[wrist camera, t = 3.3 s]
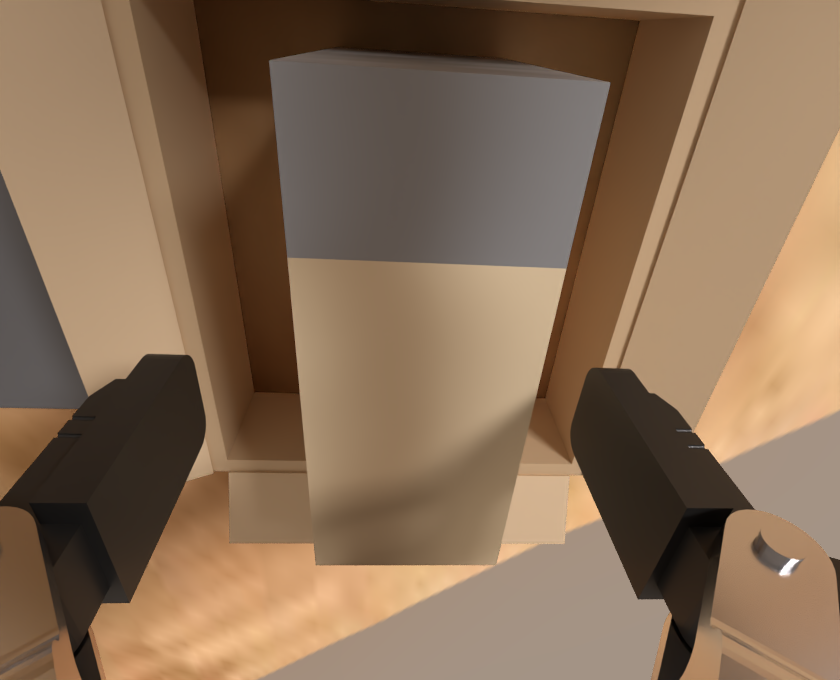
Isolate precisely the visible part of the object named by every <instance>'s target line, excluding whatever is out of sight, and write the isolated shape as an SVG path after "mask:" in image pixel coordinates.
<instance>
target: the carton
mask: <svg viewBox="0 0 840 680" xmlns="http://www.w3.org/2000/svg"><path fill="white" fill-rule="evenodd" d="M368 1H382V2H395V3H409V4H422V5H436V6H449V7H463V8H476V9H490V10H503V11H517V12H531V13H544V14H558V15H571V16H585V17H598V18H612V19H625V20H639V21H640V22H639V26H638V30H637V34H636V38H635V42H634V46H633V50H632V54H631V58H630V62H629V66H628V70H627V74H626V78H625V82H624V86H623V90H622V94H621V98H620V102H619V106H618V110H617V114H616V118H615V122H614V126H613V130H612V134H611V138H610V142H609V146H608V150H607V154H606V158H605V162H604V166H603V170H602V174H601V178H600V182H599V186H598V190H597V194H596V198H595V202H594V206H593V210H592V214H591V218H590V222H589V226H588V230H587V234H586V238H585V242H584V246H583V250H582V254H581V258H580V262H579V265H578V269H577V273H576V277H575V281H574V285H573V289H572V293H571V297H570V301H569V305H568V309H567V313H566V317H565V321H564V325H563V329H562V333H561V337H560V341H559V345H558V349H557V353H556V357H555V361H554V365H553V369H552V373H551V377H550V381H549V385H548V389H547V393H546V397H545V398H536V399H535V403H534V408H533V412H532V416H531V420H530V424H529V429H528V433H527V437H526V441H525V445H524V450H523V454H522V458H521V462H520V467H519V471H518V475H517V479H516V483H515V488H514V492H513V496H512V500H511V504H510V509H509V513H508V517H507V521H506V525H505V530H504V534H503V538H502V542H501V544H564V542H565V529H566V516H567V503H568V490H569V478H570V476H569V475H583V474H582V472H581V470H580V467H579V465H578V463H577V461H576V458H575V456H574V454H573V451H572V447H571V441H570V430H571V424H572V420H573V417H574V414H575V410H576V407H577V404H578V401H579V397H580V394H581V391H582V388H583V384H584V381H585V378H586V375H587V373H588V371H589V370H590V369H591V368H625V369H631V370H632V371H633V372H634V373H635V374H636V376H637V377H638V379H639V380H640V381H641V383H642V384H643V385H644V387H645V388H646V389H647V391H648V392H649V393H655V394H657V395H658V396H659V397H661V398H662V399H663V400H665V401H666V402H667V403H669V404H670V405H671V406H673V407H674V408H675V409H677V410H678V411H679V413H680V414H681V415H682V417H683V418H684V419H685V420H686V422H687V423H688V424H689V426H690V427H691V428H692V433H693V432H694V430H695V428H696V426H697V424H698V422H699V419H700V417H701V415H702V413H703V411H704V409H705V407H706V405H707V403H708V401H709V399H710V397H711V395H712V392H713V390H714V388H715V386H716V384H717V382H718V380H719V378H720V376H721V374H722V372H723V370H724V368H725V365H726V363H727V361H728V359H729V357H730V355H731V353H732V351H733V349H734V347H735V345H736V343H737V341H738V338H739V336H740V334H741V332H742V330H743V328H744V326H745V324H746V322H747V320H748V318H749V316H750V314H751V311H752V309H753V307H754V305H755V303H756V301H757V299H758V297H759V295H760V293H761V291H762V289H763V287H764V284H765V282H766V280H767V278H768V276H769V274H770V272H771V270H772V268H773V266H774V264H775V262H776V260H777V257H778V255H779V253H780V251H781V249H782V247H783V245H784V243H785V241H786V239H787V237H788V235H789V232H790V230H791V228H792V226H793V224H794V222H795V220H796V218H797V216H798V214H799V212H800V210H801V208H802V205H803V203H804V201H805V199H806V197H807V195H808V193H809V191H810V189H811V187H812V185H813V183H814V181H815V178H816V176H817V174H818V172H819V170H820V168H821V166H822V164H823V162H824V160H825V158H826V156H827V154H828V151H829V149H830V147H831V145H832V143H833V141H834V139H835V137H836V135H837V133H838V131H839V129H840V0H368ZM0 170H1V173H2V176H3V178H4V181H5V183H6V186H7V188H8V191H9V194H10V196H11V199H12V201H13V204H14V206H15V209H16V212H17V214H18V217H19V219H20V222H21V225H22V227H23V230H24V232H25V235H26V237H27V240H28V243H29V245H30V248H31V250H32V253H33V255H34V258H35V261H36V263H37V266H38V268H39V271H40V273H41V276H42V279H43V281H44V284H45V286H46V289H47V291H48V294H49V297H50V299H51V302H52V304H53V307H54V309H55V312H56V315H57V317H58V320H59V322H60V325H61V327H62V330H63V333H64V335H65V338H66V340H67V343H68V345H69V348H70V351H71V353H72V356H73V358H74V361H75V363H76V366H77V369H78V371H79V374H80V376H81V379H82V381H83V384H84V387H85V389H86V392H87V394H88V397H89V396H90V395H91V394H93V393H95V392H96V391H98V390H99V389H101V388H102V387H104V386H105V385H107V384H108V383H110V382H112V381H113V380H115V379H126V378H127V376H128V375H129V374H130V373H131V371H132V370H133V369H134V368H135V366H136V365H137V364H138V362H139V361H140V360H141V359H142V357H143V356H145V355H146V354H176V355H189V356H191V357H192V359H193V361H194V364H195V368H196V373H197V377H198V382H199V387H200V392H201V396H202V401H203V406H204V411H205V416H206V432H205V438H204V442H203V445H202V448H201V450H200V452H199V454H198V456H197V459H196V461H195V463H194V465H193V467H192V469H191V471H190V474H189V476H188V478H187V480H186V481H190V480H193V479H196V478H200V477H203V476H207V475H210V474H213V471H230V472H229V543H314V540H313V530H312V519H311V508H310V497H309V487H308V476H307V465H306V454H305V443H304V433H303V422H302V411H301V400H300V393H267V392H254V387H253V380H252V374H251V368H250V361H249V355H248V348H247V342H246V335H245V329H244V323H243V316H242V310H241V303H240V297H239V291H238V284H237V278H236V271H235V265H234V258H233V252H232V246H231V239H230V233H229V226H228V220H227V214H226V207H225V201H224V194H223V188H222V181H221V175H220V169H219V162H218V156H217V149H216V143H215V136H214V130H213V124H212V117H211V111H210V104H209V98H208V92H207V85H206V79H205V72H204V66H203V59H202V53H201V47H200V40H199V34H198V27H197V21H196V15H195V8H194V2H193V0H0ZM583 477H584V476H583Z"/></svg>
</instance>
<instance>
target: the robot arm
mask: <svg viewBox="0 0 840 680" xmlns="http://www.w3.org/2000/svg"><path fill="white" fill-rule="evenodd" d="M72 417H73V418H72V420H69V421H68V422H67V423H66V424H65V425H64V427H63V428H62V429H61V430H60V431H59V432H58V437H57V438H53V440H52V441H51V442H50V443H49V444H48V445H47V447H46V448H45V449H44V450H43V451H42V453H41V454H40V455H39V456H38V457H37V458H36V460H35V461H34V462H33V463H32V464H31V466H30V467H29V468H28V469H27V470H26V471H25V473H24V474H23V475H22V476H21V477H20V479H19V480H18V481H17V482H16V483H15V484H14V486H13V487H12V488H11V489H10V490H9V492H8V493H7V494H6V495H5V496H4V497H3V499H2V500H1V501H0V680H106V677H105V673H104V669H103V666H102V662H101V658H100V655H99V651H98V647H97V644H96V640H95V636H94V633H93V630H92V628H91V626H90V625H91V623H92V621H93V619H94V617H95V615H96V613H97V611H98V609H99V607H100V605H101V604H102V603H130V601H131V599H132V597H133V595H134V592H135V590H136V588H137V586H138V584H139V582H140V579H141V577H142V575H143V573H144V571H145V569H146V567H147V564H148V562H149V560H150V558H151V556H152V554H153V551H154V549H155V547H156V545H157V543H158V541H159V538H160V536H161V534H162V532H163V530H164V528H165V525H166V523H167V521H168V519H169V517H170V515H171V513H172V510H173V508H174V506H175V504H176V502H177V500H178V497H179V495H180V493H181V491H182V489H183V487H184V484H185V482H186V480H187V478H188V476H189V474H190V471H191V469H192V467H193V465H194V463H195V461H196V459H197V456H198V454H199V452H200V450H201V448H202V445H203V442H204V438H205V432H206V416H205V411H204V406H203V401H202V396H201V392H200V387H199V382H198V377H197V373H196V368H195V364H194V361H193V359H192V357H191V356H189V355H176V354H146V355H145V356H143V357H142V359H141V360H140V361H139V362H138V364H137V365H136V366H135V368H134V369H133V370H132V371H131V373H130V374H129V375H128V376H127V378H126V379H115V380H113V381H112V382H110V383H108V384H107V385H105V386H104V387H102V388H101V389H99V390H98V391H96V392H95V393H93V394H91V395H90V396H89V397H88V398H87V399H86V401H85V402H84V403H83V404H82V405H81V406H80V408H79V409H78V410H77V411H76V412H75V414H74V415H73V416H72ZM570 441H571V447H572V451H573V454H574V456H575V458H576V461H577V463H578V465H579V467H580V470H581V472H582V474H583V476H584V479H585V481H586V483H587V485H588V488H589V490H590V492H591V494H592V497H593V499H594V501H595V503H596V506H597V508H598V510H599V513H600V515H601V517H602V519H603V521H604V523H605V526H606V528H607V530H608V533H609V535H610V537H611V540H612V542H613V544H614V546H615V549H616V551H617V553H618V555H619V558H620V560H621V562H622V564H623V567H624V569H625V571H626V573H627V576H628V578H629V580H630V582H631V585H632V587H633V589H634V591H635V594H636V596H637V598H638V599H664V600H665V602H666V604H667V606H668V608H669V610H670V613H669V614H668V616H667V618H666V620H665V622H664V626H663V630H662V634H661V638H660V643H659V647H658V651H657V655H656V659H655V664H654V668H653V673H652V676H651V680H840V560H838V559H835V558H831V557H828V555H827V554H826V552H825V551H824V550H823V549H822V547H821V546H820V545H819V544H818V543H817V542H816V541H815V540H814V539H812V538H811V537H810V536H809V535H808V534H807V533H805V532H804V531H803V530H801V529H800V528H798V527H797V526H795V525H793V524H792V523H790V522H788V521H786V520H784V519H782V518H780V517H778V516H775V515H773V514H770V513H767V512H763V511H758V510H755V509H754V508H753V507H752V505H751V504H750V503H749V502H748V501H747V499H746V498H745V497H744V495H743V494H742V493H741V491H740V490H739V489H738V487H737V486H736V485H735V484H734V482H733V481H732V480H731V478H730V477H729V476H728V475H727V473H726V472H725V471H724V470H723V468H722V467H721V466H720V464H719V463H718V462H717V460H716V459H715V458H714V457H713V455H712V454H711V453H710V451H709V450H708V449H705V448H704V444H703V442H702V441H701V440H700V439H699V437H698V436H697V435H696V433H692V428H691V427H690V426H689V424H688V423H687V422H686V420H685V419H684V418H683V417H682V415H681V414H680V413H679V411H678V410H677V409H675V408H674V407H673V406H671V405H670V404H669V403H667V402H666V401H665V400H663V399H662V398H661V397H659V396H658V395H657V394H655V393H649V392H648V391H647V389H646V388H645V387H644V385H643V384H642V383H641V381H640V380H639V379H638V377H637V376H636V374H635V373H634V372H633V371H632V370H631V369H625V368H591V369H590V370H589V371H588V373H587V375H586V378H585V381H584V384H583V388H582V391H581V394H580V397H579V401H578V404H577V407H576V410H575V414H574V417H573V420H572V424H571V430H570Z"/></svg>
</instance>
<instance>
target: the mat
mask: <svg viewBox="0 0 840 680" xmlns="http://www.w3.org/2000/svg"><path fill="white" fill-rule="evenodd" d="M87 398H88V394H87V392H86V389H85V387H84V384H83V381H82V379H81V376H80V374H79V371H78V369H77V366H76V363H75V361H74V358H73V356H72V353H71V351H70V348H69V345H68V343H67V340H66V338H65V335H64V333H63V330H62V327H61V325H60V322H59V320H58V317H57V315H56V312H55V309H54V307H53V304H52V302H51V299H50V297H49V294H48V291H47V289H46V286H45V284H44V281H43V279H42V276H41V273H40V271H39V268H38V266H37V263H36V261H35V258H34V255H33V253H32V250H31V248H30V245H29V243H28V240H27V237H26V235H25V232H24V230H23V227H22V225H21V222H20V219H19V217H18V214H17V212H16V209H15V206H14V204H13V201H12V199H11V196H10V194H9V191H8V188H7V186H6V183H5V181H4V178H3V176H2V173H1V170H0V407H1V408H54V409H79V408H80V406H81V405H82V404H83V403H84V402H85V401H86V399H87Z"/></svg>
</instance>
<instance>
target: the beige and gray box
mask: <svg viewBox="0 0 840 680" xmlns="http://www.w3.org/2000/svg"><path fill="white" fill-rule="evenodd" d="M269 66H270V76H271V87H272V98H273V109H274V120H275V130H276V141H277V152H278V163H279V174H280V184H281V195H282V206H283V217H284V228H285V238H286V249H287V260H288V271H289V281H290V292H291V303H292V314H293V325H294V335H295V346H296V357H297V368H298V379H299V389H300V400H301V411H302V422H303V433H304V443H305V454H306V465H307V476H308V487H309V497H310V508H311V519H312V530H313V540H314V551H315V562H316V565H496V563H497V559H498V555H499V551H500V547H501V542H502V538H503V534H504V530H505V525H506V521H507V517H508V513H509V509H510V504H511V500H512V496H513V492H514V488H515V483H516V479H517V475H518V471H519V467H520V462H521V458H522V454H523V450H524V445H525V441H526V437H527V433H528V429H529V424H530V420H531V416H532V412H533V408H534V403H535V399H536V395H537V391H538V387H539V382H540V378H541V374H542V370H543V365H544V361H545V357H546V353H547V349H548V344H549V340H550V336H551V332H552V328H553V323H554V319H555V315H556V311H557V307H558V302H559V298H560V294H561V290H562V285H563V281H564V277H565V273H566V269H567V264H568V260H569V256H570V252H571V248H572V243H573V239H574V235H575V231H576V227H577V222H578V218H579V214H580V210H581V205H582V201H583V197H584V193H585V189H586V184H587V180H588V176H589V172H590V168H591V163H592V159H593V155H594V151H595V147H596V142H597V138H598V134H599V130H600V125H601V121H602V117H603V113H604V109H605V104H606V100H607V96H608V92H609V88H610V83H611V82H606V81H602V80H597V79H593V78H588V77H584V76H579V75H575V74H570V73H566V72H561V71H557V70H552V69H548V68H543V67H539V66H534V65H530V64H525V63H521V62H516V61H512V60H507V59H503V58H492V57H477V56H462V55H447V54H433V53H418V52H403V51H388V50H373V49H358V48H344V47H334V48H329V49H324V50H319V51H314V52H309V53H303V54H298V55H293V56H288V57H283V58H278V59H273V60H269Z"/></svg>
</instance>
